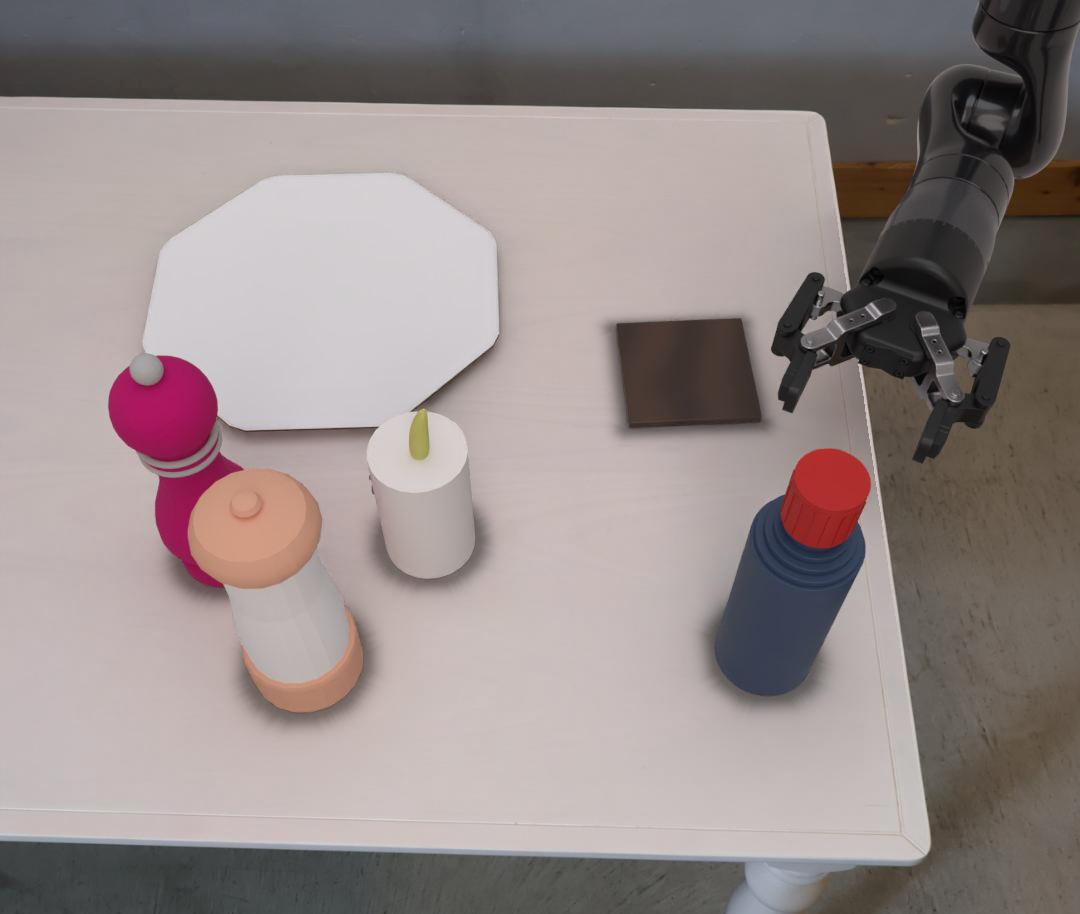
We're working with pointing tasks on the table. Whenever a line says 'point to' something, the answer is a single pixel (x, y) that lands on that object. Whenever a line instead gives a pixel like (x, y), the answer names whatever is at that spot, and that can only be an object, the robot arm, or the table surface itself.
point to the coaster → (687, 373)
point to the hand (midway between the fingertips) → (854, 429)
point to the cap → (825, 498)
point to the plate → (326, 300)
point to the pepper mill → (172, 441)
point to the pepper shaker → (278, 587)
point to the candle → (423, 493)
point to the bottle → (782, 604)
